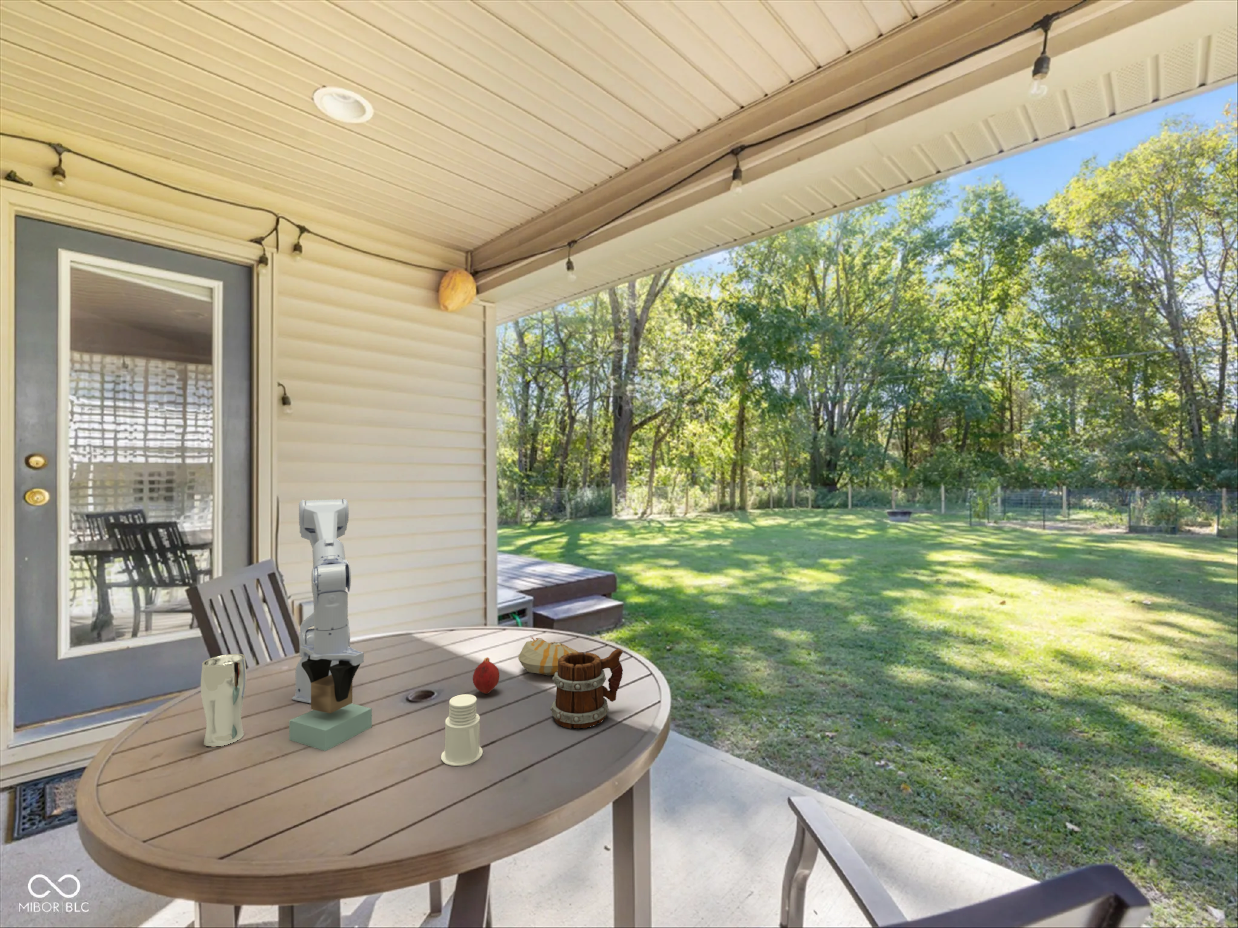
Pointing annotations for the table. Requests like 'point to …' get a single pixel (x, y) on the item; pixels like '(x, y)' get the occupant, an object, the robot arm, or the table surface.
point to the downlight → (462, 732)
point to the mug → (584, 688)
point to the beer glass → (223, 698)
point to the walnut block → (327, 696)
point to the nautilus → (542, 656)
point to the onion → (486, 676)
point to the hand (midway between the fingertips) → (331, 697)
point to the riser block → (330, 726)
